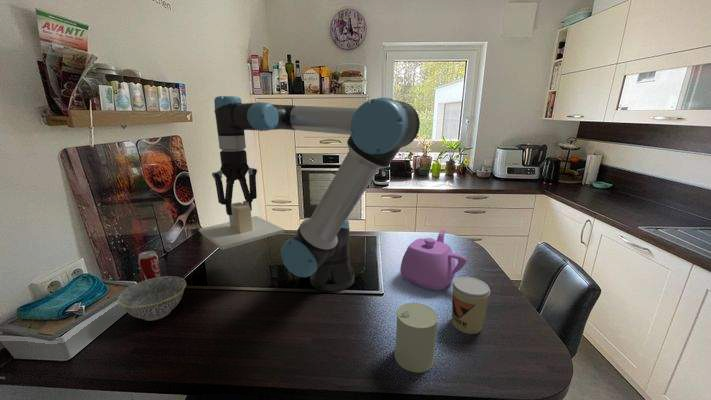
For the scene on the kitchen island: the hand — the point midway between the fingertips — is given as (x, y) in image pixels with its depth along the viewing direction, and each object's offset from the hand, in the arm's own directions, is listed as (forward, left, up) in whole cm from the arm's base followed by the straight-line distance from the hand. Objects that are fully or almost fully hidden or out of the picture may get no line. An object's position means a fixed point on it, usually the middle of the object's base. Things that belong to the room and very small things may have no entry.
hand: (240, 222), depth 97 cm
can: (-60, -14, -22) cm, 65 cm away
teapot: (-42, -47, -22) cm, 66 cm away
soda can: (+17, +24, -22) cm, 37 cm away
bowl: (0, +26, -22) cm, 34 cm away
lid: (0, 0, -3) cm, 3 cm away
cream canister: (-63, -34, -22) cm, 75 cm away
